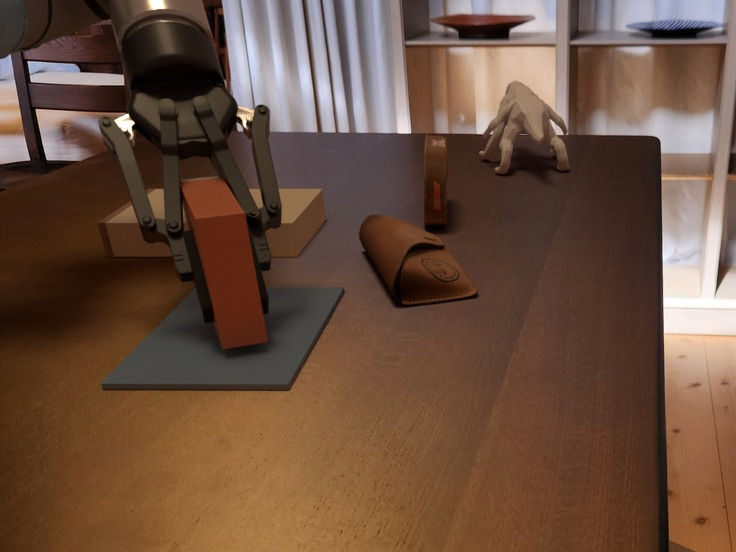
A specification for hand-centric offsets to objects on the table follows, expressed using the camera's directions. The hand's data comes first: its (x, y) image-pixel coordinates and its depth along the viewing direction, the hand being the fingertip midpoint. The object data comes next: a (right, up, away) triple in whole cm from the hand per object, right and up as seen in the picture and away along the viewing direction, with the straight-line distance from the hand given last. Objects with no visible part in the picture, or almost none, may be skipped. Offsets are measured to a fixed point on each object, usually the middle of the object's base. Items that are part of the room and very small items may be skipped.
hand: (236, 310), depth 69 cm
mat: (-1, -1, +5) cm, 5 cm away
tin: (+13, +19, +34) cm, 41 cm away
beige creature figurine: (+23, +33, +55) cm, 68 cm away
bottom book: (-11, +15, +28) cm, 34 cm away
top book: (-1, 0, +4) cm, 4 cm away
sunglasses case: (+12, +8, +18) cm, 23 cm away
